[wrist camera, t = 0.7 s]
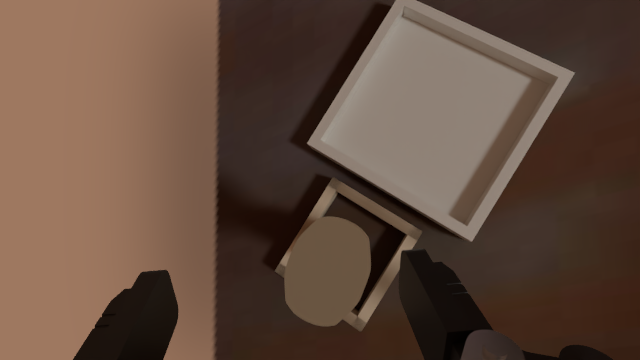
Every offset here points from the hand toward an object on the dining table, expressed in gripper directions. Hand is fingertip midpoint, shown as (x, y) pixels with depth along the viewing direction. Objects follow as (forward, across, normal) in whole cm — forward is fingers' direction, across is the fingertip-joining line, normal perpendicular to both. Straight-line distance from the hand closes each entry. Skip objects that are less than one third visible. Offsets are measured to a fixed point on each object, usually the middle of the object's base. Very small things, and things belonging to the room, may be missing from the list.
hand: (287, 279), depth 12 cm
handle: (+19, -5, +13) cm, 24 cm away
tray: (+24, -14, +1) cm, 28 cm away
